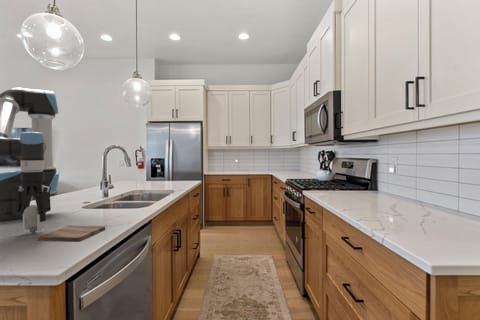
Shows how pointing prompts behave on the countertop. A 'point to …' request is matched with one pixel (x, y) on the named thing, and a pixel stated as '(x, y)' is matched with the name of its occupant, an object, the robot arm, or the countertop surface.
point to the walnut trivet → (72, 233)
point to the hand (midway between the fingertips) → (33, 229)
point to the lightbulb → (31, 217)
